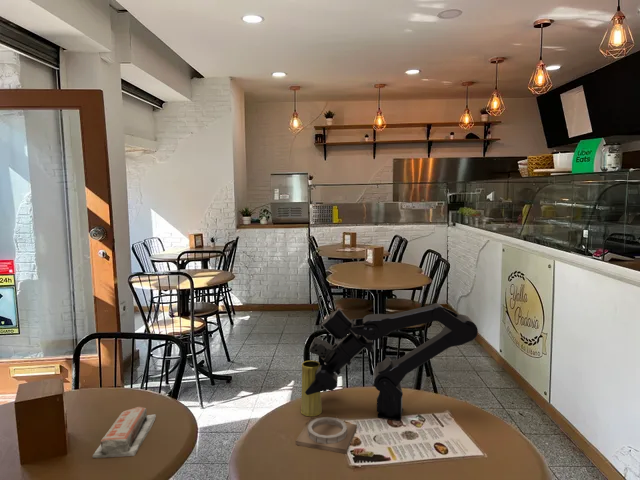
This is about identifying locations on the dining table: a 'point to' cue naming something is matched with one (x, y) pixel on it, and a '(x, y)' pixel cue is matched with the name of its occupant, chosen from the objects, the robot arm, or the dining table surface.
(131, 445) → the packaged product
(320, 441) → the socket board
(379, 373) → the robot arm
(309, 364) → the vase
